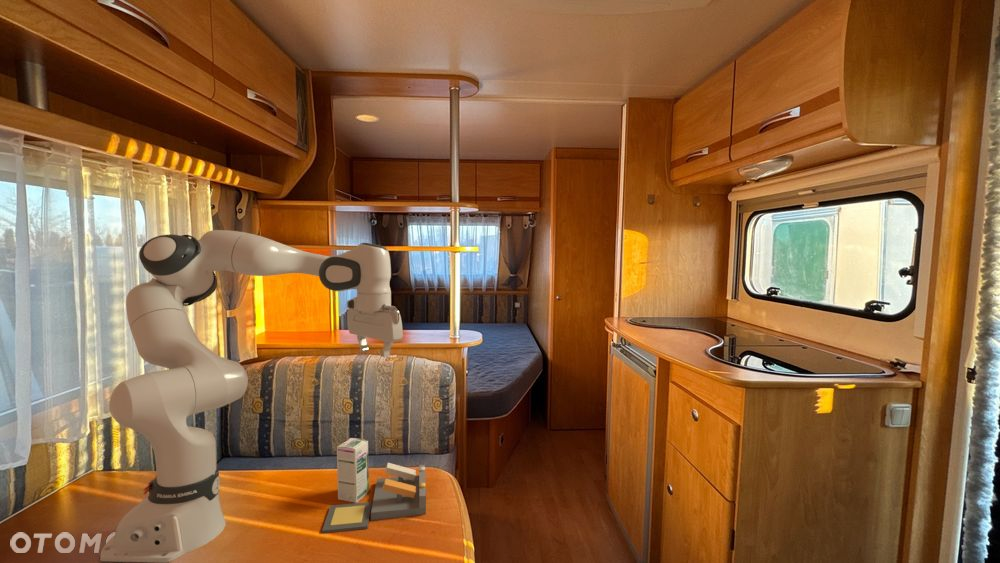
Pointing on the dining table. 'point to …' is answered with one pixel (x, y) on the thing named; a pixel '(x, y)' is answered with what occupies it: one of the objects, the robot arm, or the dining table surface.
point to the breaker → (400, 471)
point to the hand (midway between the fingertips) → (374, 354)
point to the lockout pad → (347, 517)
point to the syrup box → (352, 470)
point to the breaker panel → (399, 499)
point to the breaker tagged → (399, 488)
